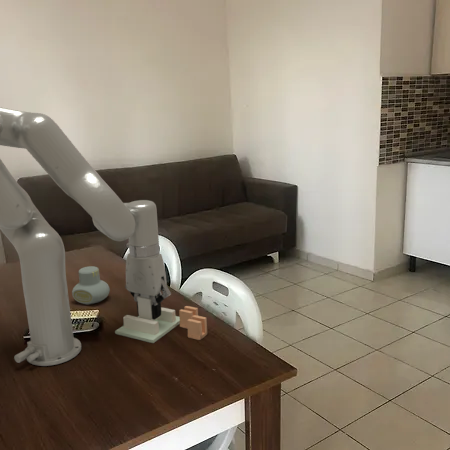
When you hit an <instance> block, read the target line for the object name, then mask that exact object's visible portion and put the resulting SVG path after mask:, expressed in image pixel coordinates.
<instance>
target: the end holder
mask: <svg viewBox="0 0 450 450" xmlns="http://www.w3.org/2000/svg"><path fill="white" fill-rule="evenodd" d="M122 319H123V325H122V326H121V327H119V328H118V329H116V330H115V331H114V333H115V335H118V336H123V337H126V338H131V339H135V340H139V341H143V342H147V343H150V344H155V342H157V341H159V340H160V339H161V338H162V337H164V336H165V335H166V334H168V333H169V332H170V331H172V330H173V329H175V328H176V327H177V326H178V325H180V315H179V316H177V315H176V310H175V309H171V308H168V307H162V306H161V316H160V317H159V318H158V319H156V320H155V321H153V320H148V319H144V318H139V316H138V315H137V316H135V315H130V314H126V315H124V316H123V318H122Z"/></svg>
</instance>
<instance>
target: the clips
mask: <svg viewBox="0 0 450 450" xmlns="http://www.w3.org/2000/svg"><path fill="white" fill-rule="evenodd" d="M183 308H184V309H182V308H181V309H179V310H178V314H179V317H180V324H179V327H180V328H183V329H187V337H188V338H189V339H194V340H197V341H201V340H202V339H203V338H205V337H206V336H207V335H208V325H207V324H208V322H207V321H208V320H207V317H205V316H201V315H199V308H198V307H194V306H190V305H186V306H184V307H183Z"/></svg>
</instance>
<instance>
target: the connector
mask: <svg viewBox="0 0 450 450" xmlns="http://www.w3.org/2000/svg"><path fill="white" fill-rule="evenodd" d="M156 298H157V295H156ZM137 300H138V311H139V318H144V319H148V320H153V321H155V320H156V319H158V318H159V317H160V316H159V317H158V318H156V319H155V320H154V319H152V307H151V305H153V302H152V298H151V296H150V295H144V294H140V296H138V297H137Z"/></svg>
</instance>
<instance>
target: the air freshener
mask: <svg viewBox="0 0 450 450" xmlns="http://www.w3.org/2000/svg"><path fill="white" fill-rule="evenodd" d="M100 276H101V275H100V269H99V267H97V266H89V265H88V266H84V267H82V268H80V269H79V270H78V278H79V279H78V280H79V282H78V283H77V284H76V285H74V287H73V288H72V291H71V295H72V298H73V299H74V300H75V301H76V302H78V303H80V304H83V305H88V306H89V305H94V304H98V303H100V302H102V301H104V300H105V299H106V298H107V297H108V296H109V294H110V291H111V288H110V285H109V284H108V283H107V282H106V281H104V280H102V279H101V277H100Z"/></svg>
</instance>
